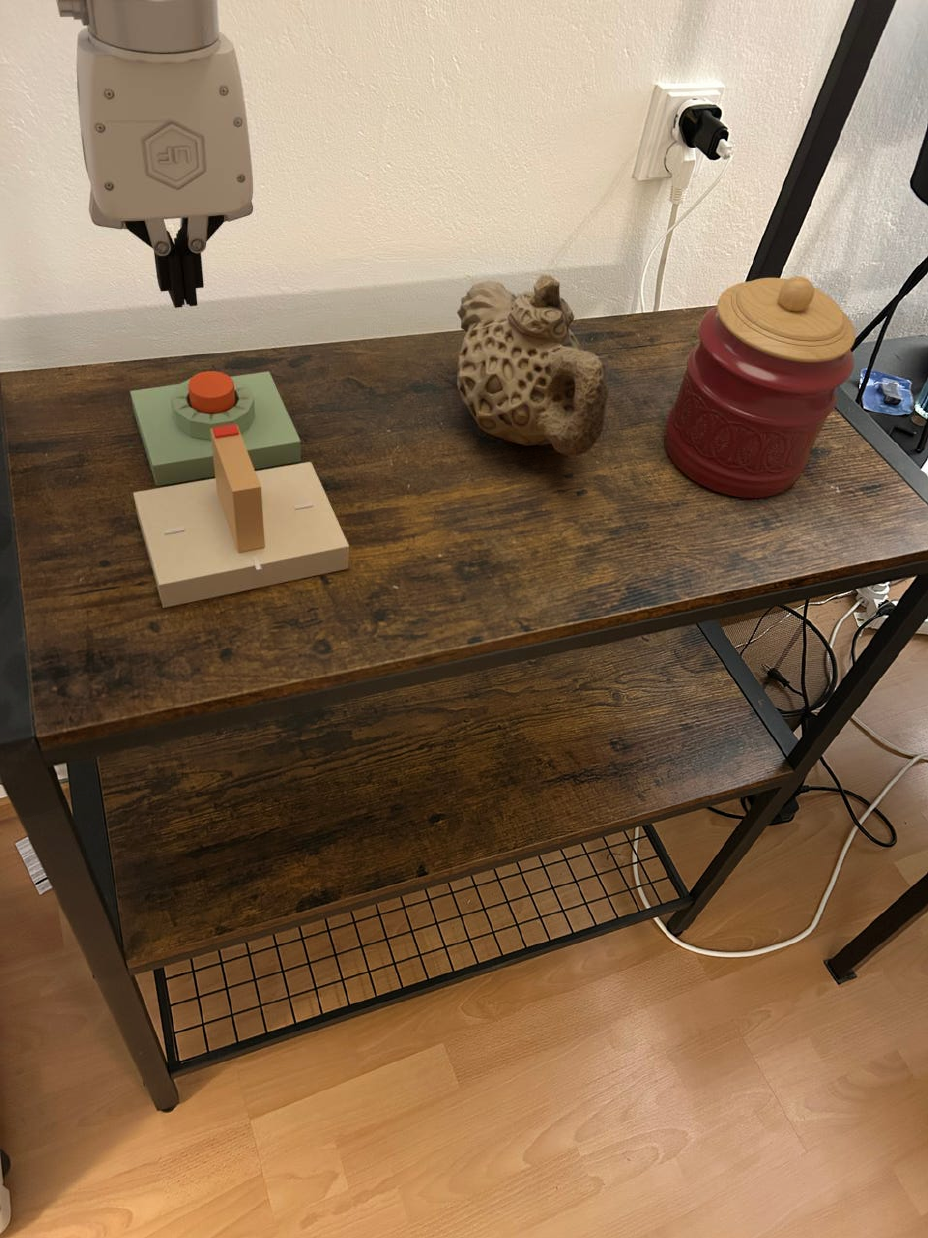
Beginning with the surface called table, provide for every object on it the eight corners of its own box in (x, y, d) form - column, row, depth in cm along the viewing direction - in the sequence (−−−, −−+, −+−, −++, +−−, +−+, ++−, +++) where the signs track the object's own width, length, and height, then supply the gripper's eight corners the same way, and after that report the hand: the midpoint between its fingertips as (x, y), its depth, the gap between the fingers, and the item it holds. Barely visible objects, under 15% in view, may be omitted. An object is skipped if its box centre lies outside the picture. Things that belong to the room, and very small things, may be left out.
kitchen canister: (635, 424, 90) (689, 247, 77) (745, 399, 95) (814, 228, 82) (713, 515, 83) (788, 337, 70) (829, 484, 88) (919, 312, 75)
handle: (264, 547, 72) (260, 483, 67) (238, 552, 71) (232, 488, 66) (242, 485, 76) (237, 421, 71) (216, 490, 75) (209, 425, 70)
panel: (164, 614, 70) (160, 589, 68) (136, 510, 76) (131, 485, 74) (351, 574, 74) (352, 549, 72) (309, 479, 81) (309, 455, 79)
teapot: (411, 376, 92) (424, 224, 80) (517, 354, 96) (543, 206, 85) (521, 524, 80) (554, 370, 69) (635, 491, 84) (684, 342, 73)
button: (195, 418, 79) (193, 400, 77) (186, 391, 81) (184, 373, 79) (239, 411, 80) (238, 393, 78) (229, 385, 82) (227, 368, 80)
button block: (156, 486, 78) (149, 447, 75) (133, 411, 84) (126, 372, 81) (301, 461, 82) (300, 423, 79) (270, 391, 88) (268, 353, 85)
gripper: (23, 37, 52) (81, 337, 66) (294, 35, 57) (296, 314, 71) (8, -10, 56) (66, 280, 70) (261, -8, 62) (269, 262, 75)
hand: (181, 296), depth 70 cm, fingers closed
